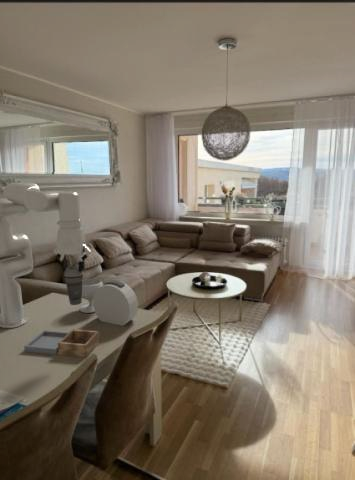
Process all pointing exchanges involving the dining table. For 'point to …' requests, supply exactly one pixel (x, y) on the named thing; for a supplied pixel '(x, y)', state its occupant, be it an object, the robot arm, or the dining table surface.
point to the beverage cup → (74, 283)
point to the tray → (45, 342)
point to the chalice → (89, 293)
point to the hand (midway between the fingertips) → (73, 269)
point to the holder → (77, 349)
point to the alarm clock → (115, 303)
